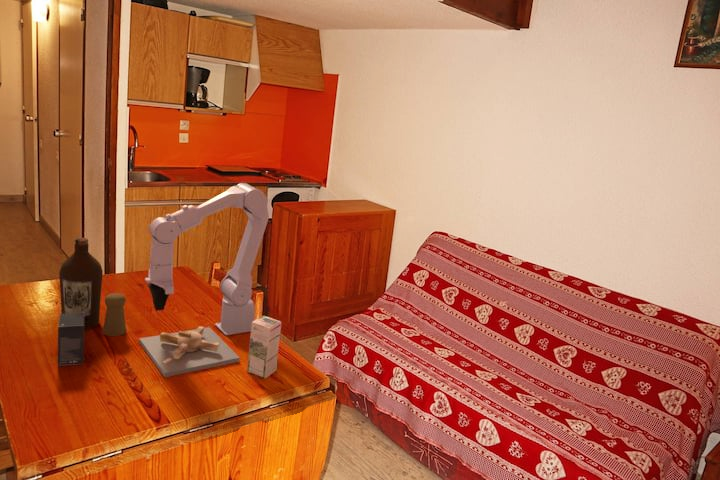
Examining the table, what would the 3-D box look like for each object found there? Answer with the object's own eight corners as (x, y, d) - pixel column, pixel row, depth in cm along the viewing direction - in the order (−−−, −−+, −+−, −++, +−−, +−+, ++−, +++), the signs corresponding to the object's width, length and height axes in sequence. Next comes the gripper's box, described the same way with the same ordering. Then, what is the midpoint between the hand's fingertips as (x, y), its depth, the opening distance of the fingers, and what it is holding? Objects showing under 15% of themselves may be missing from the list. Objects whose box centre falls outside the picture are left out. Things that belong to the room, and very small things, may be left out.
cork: (117, 337, 146) (118, 300, 143) (97, 333, 147) (98, 296, 144) (130, 329, 152) (132, 293, 149) (111, 324, 153) (112, 289, 150)
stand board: (209, 330, 158) (209, 326, 158) (239, 361, 143) (239, 356, 143) (139, 342, 145) (139, 337, 145) (164, 377, 131) (164, 372, 130)
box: (83, 364, 131) (84, 325, 128) (57, 366, 129) (57, 326, 126) (84, 349, 138) (84, 311, 135) (59, 351, 135) (59, 313, 133)
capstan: (202, 333, 152) (203, 320, 151) (220, 352, 143) (221, 339, 142) (158, 341, 145) (159, 327, 144) (174, 361, 136) (175, 347, 134)
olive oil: (65, 314, 155) (65, 232, 148) (105, 316, 157) (107, 235, 151) (54, 331, 145) (53, 243, 138) (96, 332, 147) (98, 246, 141)
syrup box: (276, 370, 142) (282, 320, 138) (264, 379, 136) (269, 327, 133) (259, 363, 144) (264, 314, 140) (245, 372, 138) (251, 321, 135)
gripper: (137, 255, 146) (136, 301, 149) (155, 272, 135) (153, 321, 138) (163, 253, 150) (161, 298, 153) (182, 270, 139) (179, 318, 143)
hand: (159, 309), depth 146 cm, fingers closed
